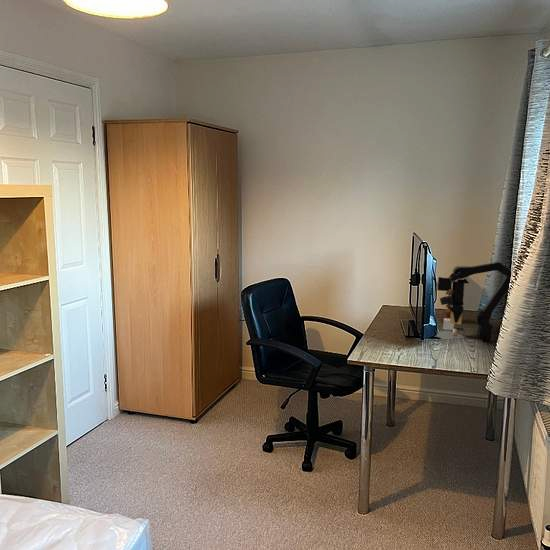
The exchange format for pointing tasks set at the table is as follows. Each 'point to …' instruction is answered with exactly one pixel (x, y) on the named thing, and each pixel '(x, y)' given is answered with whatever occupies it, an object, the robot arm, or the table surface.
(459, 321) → the matte amber box
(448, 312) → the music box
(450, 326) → the matte ivory cube
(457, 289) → the robot arm
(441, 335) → the plate
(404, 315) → the table surface
